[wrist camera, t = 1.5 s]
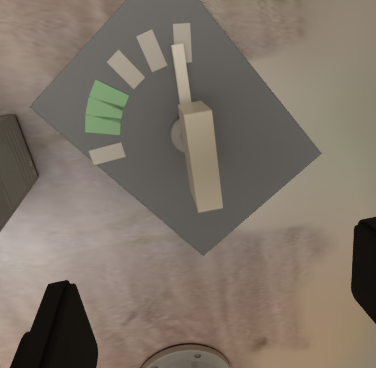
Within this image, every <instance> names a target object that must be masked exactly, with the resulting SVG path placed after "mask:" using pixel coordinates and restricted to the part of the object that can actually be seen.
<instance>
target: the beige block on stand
mask: <svg viewBox="0 0 376 368" xmlns="http://www.w3.org/2000/svg"><path fill="white" fill-rule="evenodd" d="M171 50H172V56H173V63H174V70H175V76H176V83H177V89H178V96H179V103H180V104H178V111H179V118H178V119H176V120H175V121H174V123H173V124H172V126H171V130H170V136H171V140H172V143H173V144H174V146H175V147H176V148H177V149H178V150H180V151H182V152H185V157H186V164H187V170H188V177H189V183H190V190H191V193H192V196H193V199H194V202H195V205H196V208H197V211H198V213H200V212H205V211H210V210H216V209H221V208H223V203H222V194H221V186H220V177H219V168H218V159H217V151H216V142H215V133H214V124H213V115H212V110H211V109H210V108H209V107H208V106H207V105H206V104H205V103H204V102H202V101H196V102H191V96H190V89H189V81H188V74H187V67H186V59H185V52H184V45H183V44H176V45H171Z"/></svg>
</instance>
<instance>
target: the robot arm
mask: <svg viewBox="0 0 376 368" xmlns="http://www.w3.org/2000/svg"><path fill="white" fill-rule="evenodd" d="M353 242H354V243H353V262H352V282H351V290H352V294H353V296H354V298H355V300H356V301H357V302H358V303H359V304H360V306H361V307H362V308H363V309H364V310H365V311H366V313H367V314H368V315H369V316H370V318H371V319H372V320H373V321H374V322H375V323H376V217H373V218H368V219H363V220H360V221H359V223H358V225H356V226H355V228H354V241H353ZM97 359H98V347H97V343H96V340H95V337H94V334H93V331H92V329H91V326H90V323H89V320H88V317H87V315H86V312H85V309H84V306H83V303H82V301H81V298H80V295H79V292H78V289H77V287H76V285H75V284H74V283H73V284H70V283H69V281H67V280H65V281H60V282H55V283H51V284H48V286H47V288H46V291H45V294H44V296H43V299H42V301H41V304H40V307H39V309H38V312H37V314H36V317H35V320H34V322H33V325H32V328H31V330H30V332H26V333H25V334H24V335H23V337H22V339H21V341H20V344H19V346H18V349H17V351H16V354H15V356H14V359H13V361H12V364H11V366H10V368H96V366H97ZM141 368H230V365H229V363H228V361H227V360H226V359H225V357H224V356H223V355H222V354H220V353H219V352H217V351H216V350H214V349H211V348H209V347H205V346H201V345H180V346H175V347H171V348H168V349H166V350H163V351H161V352H159V353H157V354H156V355H154V356H153V357H151V358H150V359H149V360H147V362H146V363H145V364H144V365H143V366H142V367H141Z"/></svg>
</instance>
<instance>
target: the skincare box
mask: <svg viewBox="0 0 376 368" xmlns="http://www.w3.org/2000/svg"><path fill="white" fill-rule="evenodd" d="M37 179H38V175H37V173H36V170H35V168H34V165H33V162H32V160H31V157H30V155H29V152H28V149H27V147H26V144H25V142H24V139H23V136H22V134H21V131H20V128H19V126H18V123H17V121H16V117H15V115H6V116H0V232H1V230H2V229H3V227H4V226H5V224H6V223H7V222H8V220H9V219H10V217H11V216H12V214H13V213H14V212H15V210H16V209H17V207H18V206H19V205H20V203H21V202H22V200H23V199H24V197H25V196H26V195H27V193H28V192H29V191H30V189H31V188H32V186H33V185H34V183H35V182H36V181H37Z"/></svg>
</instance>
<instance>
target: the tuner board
mask: <svg viewBox="0 0 376 368" xmlns="http://www.w3.org/2000/svg"><path fill="white" fill-rule="evenodd" d="M176 44H183V45H184V52H185V59H186V67H187V74H188V81H189V89H190V96H191V102H196V101H202V102H204V103H205V104H206V105H207V106H208V107H209V108H210V109H211V110H212V115H213V124H214V133H215V142H216V151H217V159H218V168H219V177H220V186H221V194H222V203H223V208H221V209H216V210H210V211H205V212H200V213H198V211H197V208H196V205H195V202H194V199H193V196H192V193H191V190H190V183H189V177H188V170H187V164H186V157H185V152H182V151H180V150H178V149H177V148H176V147H175V146H174V144H173V143H172V140H171V136H170V130H171V126H172V124H173V123H174V121H175V120H176V119H178V118H179V111H178V104H180V103H179V96H178V89H177V83H176V76H175V70H174V63H173V56H172V50H171V45H176ZM30 108H31V109H32V110H33V111H34V112H36V113H37V114H38V115H39V116H40V117H41V118H43V119H44V120H45V121H46V122H47V123H48V124H50V125H51V126H52V127H53V128H54V129H55V130H57V131H58V132H59V133H60V134H61V135H62V136H64V137H65V138H66V139H67V140H68V141H70V142H71V143H72V144H73V145H74V146H75V147H77V148H78V149H79V150H80V151H81V152H82V153H84V154H85V155H86V156H87V157H88V158H89V159H91V160H92V162H93V165H98V166H99V167H100V168H101V169H102V170H103V171H105V172H106V173H107V174H108V175H109V176H110V177H112V178H113V179H114V180H115V181H116V182H117V183H119V184H120V185H121V186H122V187H123V188H124V189H126V190H127V191H128V192H129V193H130V194H131V195H133V196H134V197H135V198H136V199H137V200H139V201H140V202H141V203H142V204H143V205H144V206H146V207H147V208H148V209H149V210H150V211H151V212H153V213H154V214H155V215H156V216H157V217H158V218H160V219H161V220H162V221H163V222H164V223H165V224H167V225H168V226H169V227H170V228H171V229H172V230H174V231H175V232H176V233H177V234H178V235H179V236H181V237H182V238H183V239H184V240H185V241H186V242H188V243H189V244H190V245H191V246H192V247H193V248H195V249H196V250H197V251H198V252H199V253H201V254H202V255H203V256H204V255H205V254H206V253H207V252H208V251H209V250H211V249H212V248H213V247H214V246H215V245H216V244H218V243H219V242H220V241H221V240H222V239H223V238H224V237H226V236H227V235H228V234H229V233H230V232H231V231H233V230H234V229H235V228H236V227H237V226H238V225H239V224H241V223H242V222H243V221H244V220H245V219H246V218H248V217H249V216H250V215H251V214H252V213H253V212H255V211H256V210H257V209H258V208H259V207H260V206H261V205H263V204H264V203H265V202H266V201H267V200H268V199H269V198H271V197H272V196H273V195H274V194H275V193H276V192H278V191H279V190H280V189H281V188H282V187H283V186H285V185H286V184H287V183H288V182H289V181H290V180H292V179H293V178H294V177H295V176H296V175H297V174H298V173H300V172H301V171H302V170H303V169H304V168H305V167H307V166H308V165H309V164H310V163H311V162H312V161H313V160H315V159H316V158H317V157H318V156H319V155H320V154H321V152H320V151H319V149H318V148H317V147H316V146H315V145H314V143H313V142H312V141H311V140H310V138H309V137H308V136H307V134H306V133H305V132H304V131H303V130H302V128H301V127H300V126H299V125H298V123H297V122H296V121H295V119H294V118H293V117H292V116H291V115H290V113H289V112H288V111H287V110H286V108H285V107H284V106H283V104H282V103H281V102H280V101H279V100H278V98H277V97H276V96H275V95H274V93H273V92H272V91H271V89H270V88H269V87H268V86H267V84H266V83H265V82H264V81H263V80H262V78H261V77H260V76H259V74H258V73H257V72H256V71H255V69H254V68H253V67H252V66H251V64H250V63H249V62H248V61H247V59H246V58H245V57H244V56H243V54H242V53H241V52H240V51H239V49H238V48H237V47H236V46H235V44H234V43H233V42H232V41H231V39H230V38H229V37H228V36H227V34H226V33H225V32H224V31H223V29H222V28H221V27H220V26H219V24H218V23H217V22H216V21H215V19H214V18H213V17H212V16H211V14H210V13H209V12H208V11H207V9H206V8H205V7H204V6H203V4H202V3H201V2H200V1H199V0H126V1H125V3H124V4H123V5H122V6H121V7H120V8H119V9H118V10H117V11H116V12H115V14H114V15H113V16H112V17H111V18H110V19H109V20H108V21H107V22H106V23H105V25H104V26H103V27H102V28H101V29H100V30H99V31H98V32H97V33H96V34H95V36H94V37H93V38H92V39H91V40H90V41H89V42H88V43H87V44H86V45H85V47H84V48H83V49H82V50H81V51H80V52H79V53H78V54H77V55H76V56H75V58H74V59H73V60H72V61H71V62H70V63H69V64H68V65H67V66H66V67H65V69H64V70H63V71H62V72H61V73H60V74H59V75H58V76H57V77H56V78H55V80H54V81H53V82H52V83H51V84H50V85H49V86H48V87H47V88H46V89H45V91H44V92H43V93H42V94H41V95H40V96H39V97H38V98H37V99H36V100H35V102H34V103H33V104H32V105H31V106H30Z"/></svg>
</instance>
